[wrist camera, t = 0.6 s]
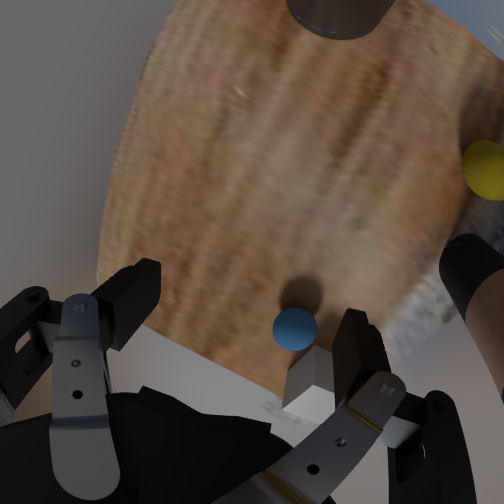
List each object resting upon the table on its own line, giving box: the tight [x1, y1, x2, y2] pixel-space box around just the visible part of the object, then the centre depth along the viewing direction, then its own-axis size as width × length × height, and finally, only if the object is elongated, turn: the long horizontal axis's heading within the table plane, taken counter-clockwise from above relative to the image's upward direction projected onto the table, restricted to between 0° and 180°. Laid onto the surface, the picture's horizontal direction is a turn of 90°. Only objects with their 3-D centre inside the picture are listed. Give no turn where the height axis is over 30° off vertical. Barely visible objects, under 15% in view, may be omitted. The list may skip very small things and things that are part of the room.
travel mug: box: [439, 234, 504, 404], centre depth 18 cm, size 8×8×20 cm
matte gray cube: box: [281, 344, 335, 424], centre depth 34 cm, size 7×7×7 cm
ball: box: [273, 307, 317, 351], centre depth 32 cm, size 5×5×5 cm
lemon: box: [462, 140, 504, 201], centre depth 18 cm, size 6×6×8 cm
